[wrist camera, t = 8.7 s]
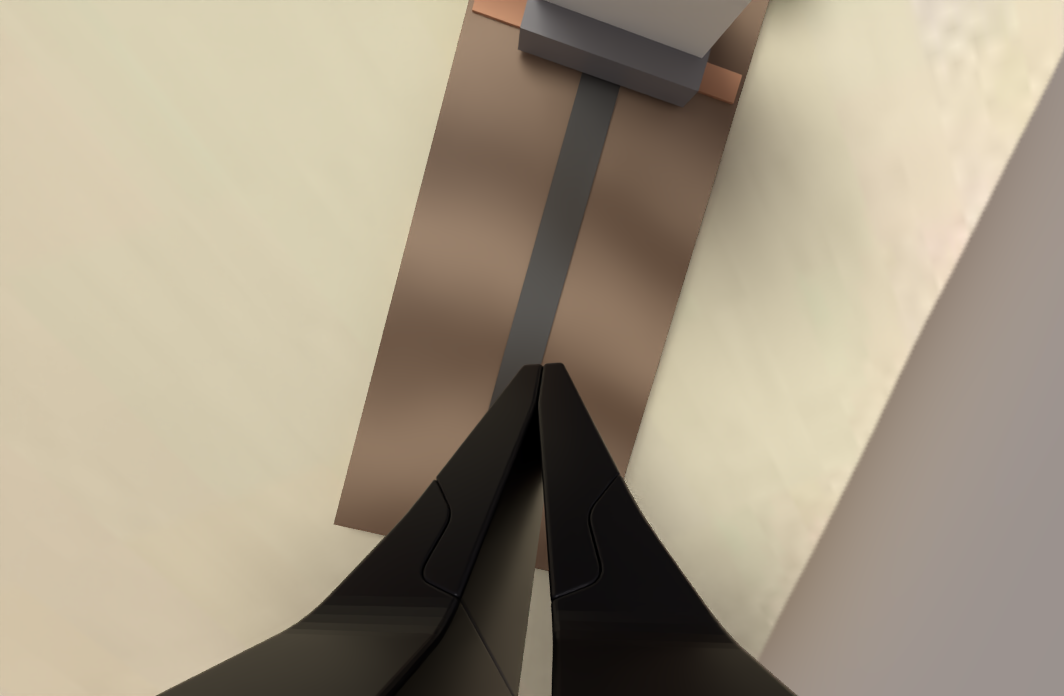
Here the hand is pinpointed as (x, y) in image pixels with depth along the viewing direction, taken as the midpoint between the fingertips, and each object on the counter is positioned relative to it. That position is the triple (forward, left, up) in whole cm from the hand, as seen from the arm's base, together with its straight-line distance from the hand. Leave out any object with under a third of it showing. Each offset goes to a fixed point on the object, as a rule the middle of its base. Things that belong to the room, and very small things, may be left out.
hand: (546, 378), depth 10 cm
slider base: (+5, 0, -8) cm, 9 cm away
